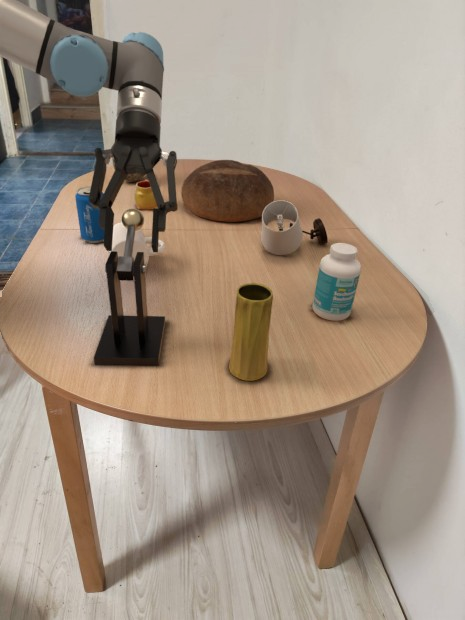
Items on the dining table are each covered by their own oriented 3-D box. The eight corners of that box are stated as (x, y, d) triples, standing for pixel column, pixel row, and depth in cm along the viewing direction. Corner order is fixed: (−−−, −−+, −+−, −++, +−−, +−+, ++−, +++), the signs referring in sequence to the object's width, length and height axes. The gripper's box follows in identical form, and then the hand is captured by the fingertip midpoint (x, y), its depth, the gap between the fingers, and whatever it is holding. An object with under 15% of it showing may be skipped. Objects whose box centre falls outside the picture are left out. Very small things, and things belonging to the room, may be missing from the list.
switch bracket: (109, 321, 81) (99, 240, 73) (165, 322, 82) (162, 242, 73) (94, 364, 71) (81, 276, 63) (158, 365, 72) (154, 278, 63)
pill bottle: (331, 327, 83) (345, 261, 76) (303, 308, 88) (314, 244, 81) (358, 315, 87) (374, 251, 80) (330, 297, 92) (342, 236, 85)
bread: (183, 191, 143) (183, 148, 136) (267, 194, 144) (271, 152, 137) (178, 222, 121) (177, 173, 114) (277, 226, 123) (283, 177, 115)
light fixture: (258, 240, 118) (251, 204, 102) (315, 220, 117) (317, 181, 101) (270, 273, 114) (265, 242, 98) (329, 253, 114) (334, 218, 98)
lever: (124, 219, 77) (121, 203, 74) (146, 219, 77) (143, 204, 74) (114, 282, 70) (110, 268, 66) (138, 283, 70) (135, 269, 67)
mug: (111, 276, 95) (108, 241, 91) (109, 255, 103) (105, 222, 99) (168, 271, 98) (167, 237, 94) (161, 251, 106) (160, 219, 102)
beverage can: (77, 243, 107) (70, 194, 101) (86, 232, 113) (79, 185, 106) (104, 245, 107) (99, 195, 101) (112, 234, 113) (107, 186, 106)
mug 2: (158, 211, 128) (157, 187, 124) (133, 210, 127) (132, 187, 123) (160, 196, 138) (160, 174, 134) (137, 196, 137) (136, 174, 133)
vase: (256, 386, 69) (265, 307, 61) (221, 372, 71) (225, 294, 63) (273, 364, 73) (283, 288, 66) (240, 352, 76) (245, 277, 68)
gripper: (74, 105, 74) (61, 238, 69) (195, 110, 75) (191, 242, 70) (86, 132, 81) (75, 254, 76) (196, 137, 82) (193, 258, 77)
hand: (131, 248), depth 73 cm, fingers open, 7 cm apart
